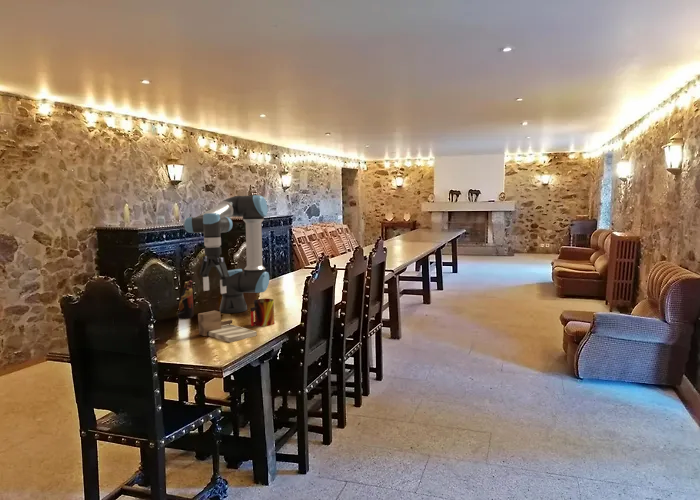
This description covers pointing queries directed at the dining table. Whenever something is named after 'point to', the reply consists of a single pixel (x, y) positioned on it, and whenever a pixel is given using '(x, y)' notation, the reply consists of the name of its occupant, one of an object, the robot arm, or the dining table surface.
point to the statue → (186, 302)
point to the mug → (263, 312)
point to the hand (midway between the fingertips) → (214, 292)
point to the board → (232, 333)
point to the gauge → (210, 322)
